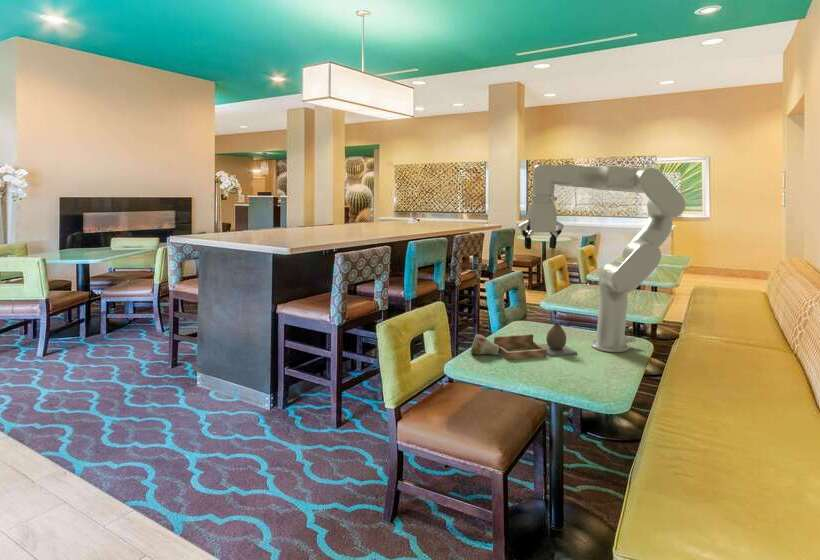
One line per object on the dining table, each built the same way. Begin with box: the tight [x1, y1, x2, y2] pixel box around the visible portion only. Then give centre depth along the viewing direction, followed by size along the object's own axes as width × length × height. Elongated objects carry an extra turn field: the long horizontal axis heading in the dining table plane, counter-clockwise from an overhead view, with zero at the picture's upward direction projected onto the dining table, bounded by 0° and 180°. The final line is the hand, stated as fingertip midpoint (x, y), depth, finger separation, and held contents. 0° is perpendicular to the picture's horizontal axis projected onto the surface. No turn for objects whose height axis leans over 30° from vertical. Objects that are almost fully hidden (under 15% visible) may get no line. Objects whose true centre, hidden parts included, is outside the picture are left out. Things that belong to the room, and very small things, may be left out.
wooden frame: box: [493, 333, 548, 361], centre depth 186 cm, size 15×11×5 cm
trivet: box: [539, 343, 578, 357], centre depth 190 cm, size 11×11×1 cm
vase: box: [546, 323, 567, 350], centre depth 189 cm, size 7×7×9 cm
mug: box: [470, 333, 499, 356], centre depth 185 cm, size 8×10×10 cm
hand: (540, 248), depth 188 cm, fingers open, 9 cm apart
